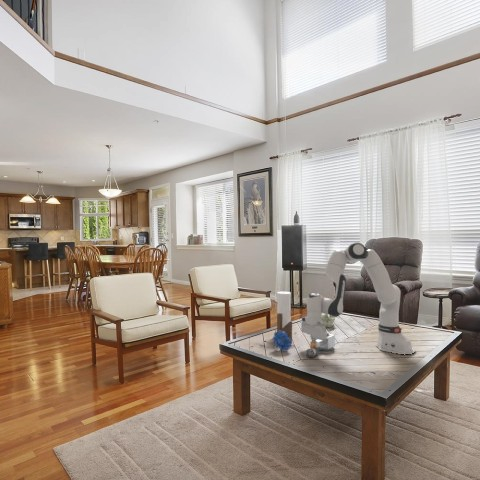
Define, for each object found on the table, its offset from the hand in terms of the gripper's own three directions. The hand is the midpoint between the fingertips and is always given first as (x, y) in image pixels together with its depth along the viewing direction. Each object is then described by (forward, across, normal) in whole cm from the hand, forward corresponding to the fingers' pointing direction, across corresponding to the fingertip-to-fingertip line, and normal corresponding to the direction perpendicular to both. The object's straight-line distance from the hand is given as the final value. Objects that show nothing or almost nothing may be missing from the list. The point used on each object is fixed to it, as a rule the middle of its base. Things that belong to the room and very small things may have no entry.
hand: (313, 343), depth 212 cm
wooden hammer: (+5, +23, +6) cm, 24 cm away
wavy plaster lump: (+6, +42, -47) cm, 63 cm away
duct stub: (+5, -8, +7) cm, 11 cm away
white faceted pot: (+5, +1, -10) cm, 11 cm away
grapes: (+5, +8, +18) cm, 20 cm away
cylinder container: (+5, +37, -3) cm, 38 cm away
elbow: (+4, -1, -5) cm, 6 cm away
